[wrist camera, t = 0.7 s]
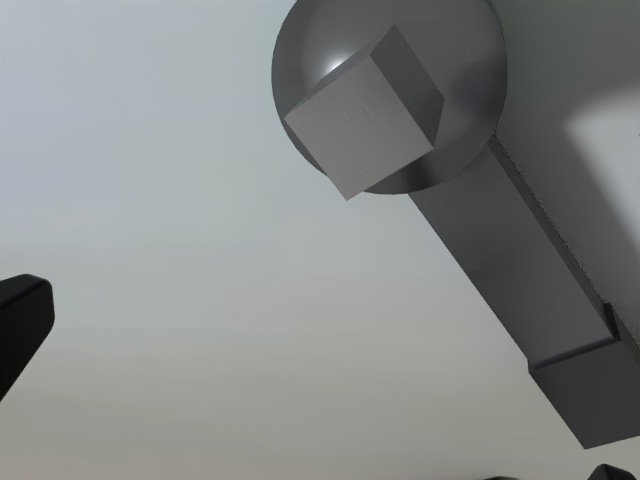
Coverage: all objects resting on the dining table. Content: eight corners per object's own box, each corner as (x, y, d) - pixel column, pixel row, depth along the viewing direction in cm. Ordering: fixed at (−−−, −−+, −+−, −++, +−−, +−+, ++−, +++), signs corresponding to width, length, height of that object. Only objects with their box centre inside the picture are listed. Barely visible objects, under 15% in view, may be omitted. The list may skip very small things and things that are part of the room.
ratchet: (255, 42, 20) (166, 94, 14) (426, -106, 16) (394, -111, 11) (537, 419, 25) (551, 562, 19) (711, 368, 21) (786, 524, 16)
